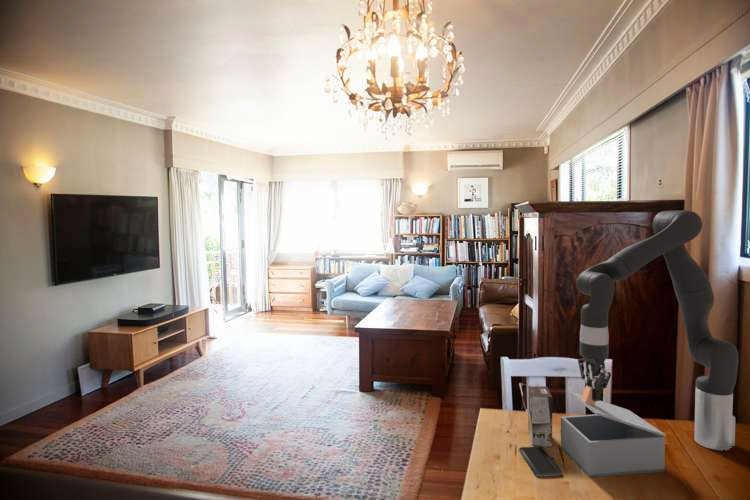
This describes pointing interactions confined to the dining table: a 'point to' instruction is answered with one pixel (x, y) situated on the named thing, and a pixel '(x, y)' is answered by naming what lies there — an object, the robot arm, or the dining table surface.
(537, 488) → the dining table surface
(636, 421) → the grey box lid
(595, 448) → the carton box
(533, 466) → the phone
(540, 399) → the coffee box
